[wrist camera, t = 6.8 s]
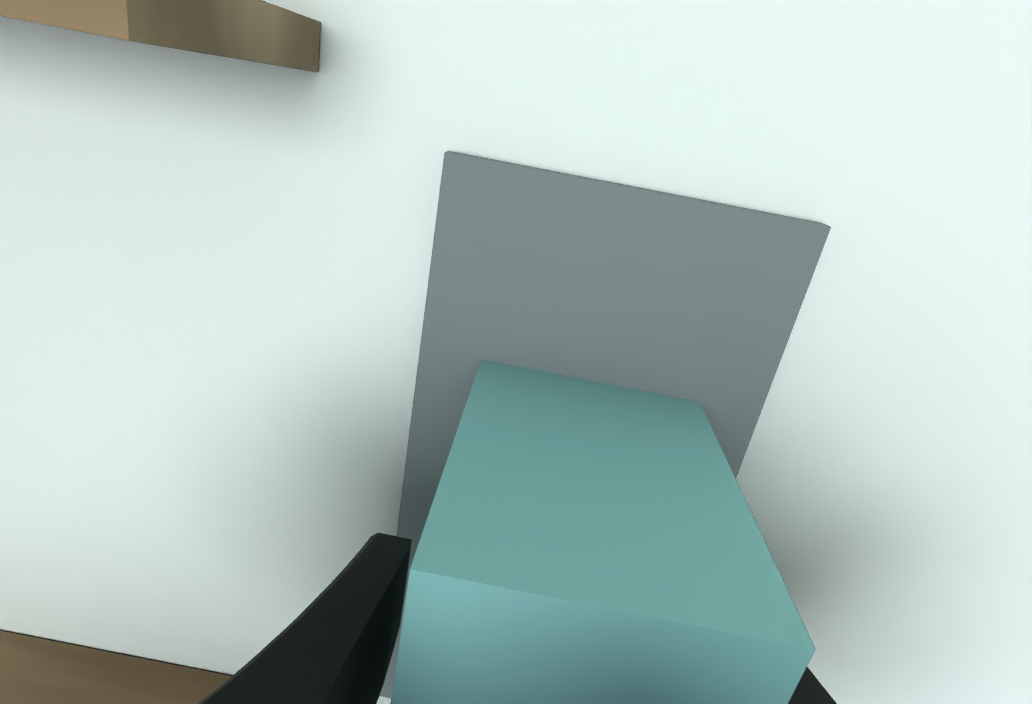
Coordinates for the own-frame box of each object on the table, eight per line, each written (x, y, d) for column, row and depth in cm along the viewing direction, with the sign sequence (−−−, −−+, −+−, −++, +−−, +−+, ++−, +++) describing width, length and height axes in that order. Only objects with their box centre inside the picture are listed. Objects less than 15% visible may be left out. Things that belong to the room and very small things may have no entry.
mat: (632, 731, 16) (634, 745, 16) (380, 682, 16) (376, 695, 16) (821, 223, 11) (831, 226, 11) (448, 150, 11) (444, 152, 11)
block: (626, 621, 14) (665, 942, 9) (442, 585, 14) (365, 883, 9) (699, 401, 12) (815, 649, 6) (480, 359, 12) (409, 569, 6)
